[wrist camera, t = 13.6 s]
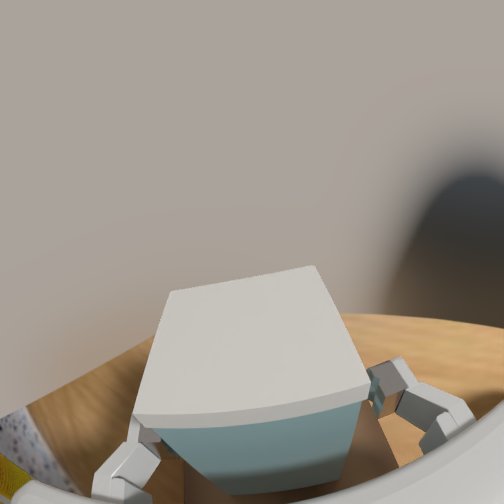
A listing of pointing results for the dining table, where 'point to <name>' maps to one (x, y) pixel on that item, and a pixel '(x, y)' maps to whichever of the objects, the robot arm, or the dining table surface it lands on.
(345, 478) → the walnut block
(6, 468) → the supplement bottle
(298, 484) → the tea tin
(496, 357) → the dining table surface
